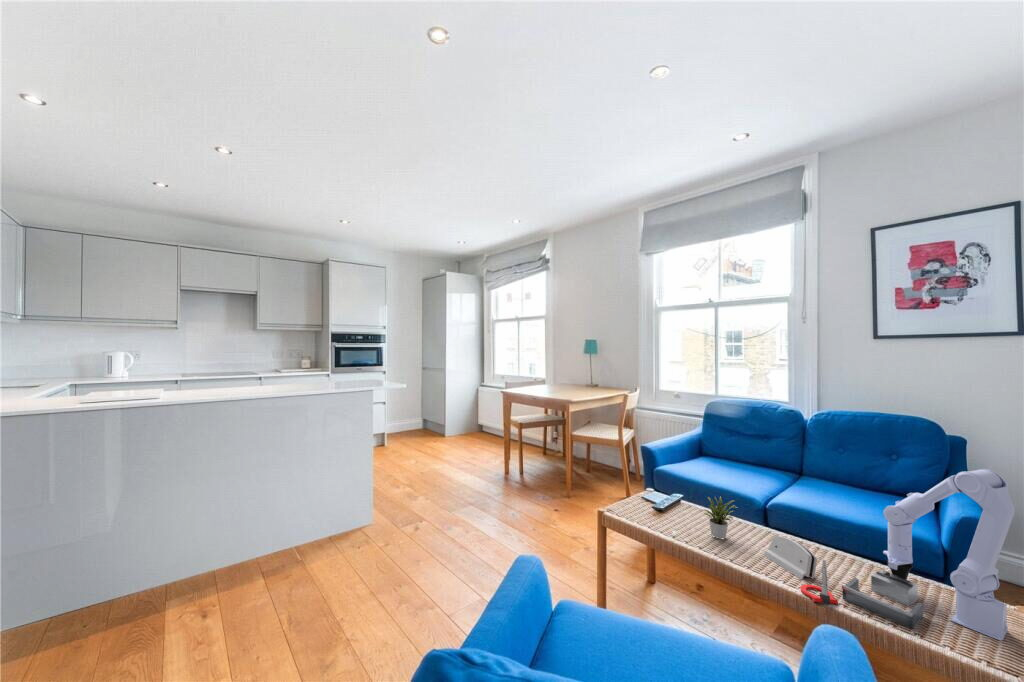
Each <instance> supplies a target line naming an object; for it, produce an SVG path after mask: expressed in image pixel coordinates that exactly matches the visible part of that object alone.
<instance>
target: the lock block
mask: <svg viewBox="0 0 1024 682" xmlns="http://www.w3.org/2000/svg"><path fill="white" fill-rule="evenodd" d="M870 581H871V584H870V585H871V587H870V588H871V590H870V591H872V592H874V593H877V594H879V595H881V596H883V597H886V598H888V599H890V600H894V601H895V602H898V603H900V604H903V605H905V606H906V607H909V606H911V605H912V604H913V603H914V604H915V602H917V601H918V600H919V586H918V585H919V584H918V583H916V582H913V581H911V580H908V579H907V580H906V579H903V578H901V577H898V576H896V575H893V574H892V572H891V573H890V572H889V571H887V570H883V569H880V570H879V571H876V572H875V573H873V574H872V575H871V578H870Z"/></svg>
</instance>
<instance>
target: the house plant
mask: <svg viewBox="0 0 1024 682" xmlns="http://www.w3.org/2000/svg"><path fill="white" fill-rule="evenodd" d="M707 499H708V500H709V502H710V505H709V509H710V511H709V510H708V509H706V508H705V509H704V508H703V509H704V511H706V512H704V513H703V515H705V516H708V517H710V518H709V520H708V522H709V527H710V534H712V535H713V536H715V537H718V538H725V537H727V531H728V526H729V522H728V521H730V522H732V520H733V516H731V515H729V514H731V513H732V512H734V510H731V511H730V509H731V508H735V509H736V508H739V507H738V506H737V505H734V504H733V505H730V504H732V502H736V501H737V500H730V501H728V502H727V503H723V499H722V496H719V500H718V499H717V497H714V499H715V500H716V505H715V502H714V501H713V499H711V497H710V496H707ZM729 505H730V506H729ZM727 507H728V508H727ZM712 535H711V536H712ZM725 539H726V538H725Z"/></svg>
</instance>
